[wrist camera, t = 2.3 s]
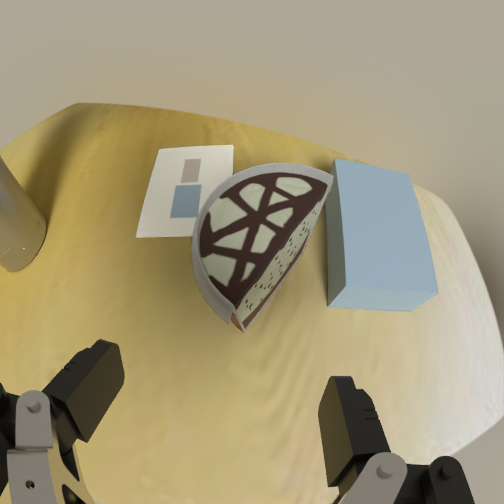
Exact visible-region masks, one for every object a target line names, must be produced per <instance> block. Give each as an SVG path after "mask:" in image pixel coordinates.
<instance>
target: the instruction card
mask: <svg viewBox="0 0 504 504" xmlns="http://www.w3.org/2000/svg"><path fill="white" fill-rule="evenodd" d="M233 151H234V145H213V146H192V147H177V148H165V149H159V152H158V155H157V159H156V162H155V165H154V168H153V172H152V175H151V178H150V182H149V185H148V189H147V193H146V196H145V200H144V204H143V208H142V212H141V216H140V220H139V224H138V229H137V233H136V238H148V237H192V235H193V230H194V226H195V221H196V219H197V217H198V214H199V212H200V210H201V208H202V206H203V204H204V203H205V201H206V200H207V198H208V197H209V195H210V194H211V193H212V192H213V191H214V190H215V189H216V188H217V186H218V185H220V184H221V183H222V182H224V181H225V180H226V179H227V178H229V177H231V176H232V175H233Z"/></svg>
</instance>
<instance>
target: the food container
mask: <svg viewBox="0 0 504 504" xmlns="http://www.w3.org/2000/svg"><path fill="white" fill-rule="evenodd" d="M333 178H334V176H333V175H331V174H329V173H326V172H324V171H322V170H319V169H316V168H313V167H309V166H305V165H300V164H293V163H270V164H262V165H258V166H254V167H250V168H248V169H245V170H243V171H240V172H238V173H236V174H234V175H232V176H231V177H229V178H227V179H226V180H225V181H224V182H222V183H221V184H220V185H218V186H217V188H216V189H215V190H214V191H213V192H212V193H211V194H210V195H209V197H208V198H207V200H206V201H205V203H204V204H203V206H202V208H201V210H200V212H199V214H198V217H197V219H196V221H195V226H194V230H193V235H192V248H191V262H192V268H193V274H194V277H195V280H196V282H197V285H198V288H199V290H200V292H201V293H202V295H203V297H204V299H205V300H206V302H207V303H208V304H209V306H210V307H211V308H212V309H213V310H214V312H215V313H216V314H217V315H218V316H219V317H220V318H222V319H223V320H224V321H225V322H226V323H227V324H229V323H230V320H231V321H232V322H233V323H234V324H235V326H236V327H237V328H239V329H240V330H241V331H242V332H244V333H245V331H246V330H247V329H248V328H249V326H250V325H251V324H252V322H253V321H254V320H255V318H256V317H257V316H258V314H259V313H260V312H261V311H262V309H263V308H264V307H265V305H266V304H267V303H268V301H269V300H270V299H271V297H272V296H273V295H274V293H275V292H276V291H277V289H278V288H279V286H280V285H281V284H282V282H283V281H284V280H285V278H286V277H287V276H288V274H289V273H290V271H291V270H292V269H293V267H294V266H295V264H296V263H297V262H298V260H299V259H300V257H301V256H302V254H303V252H304V250H305V247H306V245H307V243H308V240H309V238H310V236H311V233H312V231H313V228H314V226H315V224H316V221H317V219H318V216H319V214H320V211H321V209H322V206H323V204H324V201H325V199H326V196H327V194H328V192H330V191H331V187H332V184H333Z"/></svg>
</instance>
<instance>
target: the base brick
mask: <svg viewBox="0 0 504 504" xmlns="http://www.w3.org/2000/svg"><path fill="white" fill-rule="evenodd" d="M330 174H331V175H333V176H334V178H333V184H332V187H331V191H330V192H328V194H327V196H326V199H325V211H326V231H327V263H328V307H336V308H350V309H366V310H385V311H409V312H410V311H412V310H413V309H415V308H416V307H418V306H420V305H421V304H423V303H424V302H426V301H427V300H429V299H430V298H432V297H433V296H435V295H436V294H438V288H437V282H436V276H435V270H434V265H433V260H432V255H431V251H430V246H429V242H428V238H427V234H426V230H425V226H424V222H423V219H422V215H421V211H420V208H419V205H418V201H417V198H416V195H415V192H414V189H413V186H412V183H411V180H410V177H409V175H408V174H405V173H401V172H397V171H393V170H389V169H384V168H380V167H376V166H371V165H367V164H362V163H357V162H352V161H347V160H341V159H336V158H335V159H334V162H333V165H332V168H331V171H330Z"/></svg>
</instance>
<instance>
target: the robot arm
mask: <svg viewBox="0 0 504 504" xmlns="http://www.w3.org/2000/svg"><path fill="white" fill-rule="evenodd" d="M46 225H47V224H46V219H45V217H44V215H43V214H42V213H41V212H40V210H39V209H38V208H37V207H36V205H35V204H34V203H33V202H32V200H31V199H30V198H29V196H28V195H27V194H26V192H25V191H24V190H23V188H22V187H21V186H20V184H19V183H18V181H17V180H16V179H15V177H14V176H13V174H12V173H11V171H10V170H9V168H8V167H7V165H6V164H5V162H4V161H3V159H2V158H1V156H0V265H1V266H3V267H4V268H5V269H6V270H8V271H11V272H16V271H19V270H21V269H22V268H24V267H25V266H27V265H28V264H29V263H30V262H31V261H32V259H33V258H34V257H35V255H36V254H37V252H38V251H39V249H40V247H41V245H42V243H43V240H44V238H45V233H46ZM124 376H125V375H124V369H123V364H122V360H121V355H120V350H119V346H118V345H117V344H115V343H112V342H108V341H105V340H102V339H99V340H98V341H96V343H95V344H94V345H93V346H92V347H91V348H86V349H84V350H82V351H80V352H78V353H77V354H76V355H75V356H74V357H73V358H72V359H71V360H70V362H68V363H67V364H66V365H65V366H64V369H62V370H61V371H60V372H59V373H58V374H57V375H56V376H55V377H54V378H53V379H52V380H51V382H50V383H49V384H48V385H47V386H46V387H45V388H44V389H43V390H42V391H41V392H40V391H36V390H32V391H27V392H25V393H23V394H22V395H21V396H18V395H14V394H10V393H7V392H6V391H5V390H4V388H3V386H2V384H1V383H0V496H1V494H2V492H3V490H4V488H5V487H6V485H7V483H8V481H9V488H10V495H11V501H12V504H95V503H94V501H93V499H92V497H91V495H90V493H89V492H88V490H87V488H86V486H85V483H84V480H83V476H82V472H81V469H80V464H79V460H78V456H77V451H76V447H75V444H74V442H75V441H76V439H77V438H78V439H80V440H82V441H84V442H86V443H88V441H89V439H90V438H91V436H92V434H93V433H94V431H95V429H96V428H97V426H98V424H99V423H100V421H101V419H102V418H103V416H104V415H105V413H106V411H107V410H108V408H109V407H110V405H111V403H112V402H113V400H114V399H115V397H116V395H117V394H118V392H119V391H120V389H121V388H122V386H123V383H124ZM318 418H319V425H320V432H321V438H322V445H323V452H324V460H325V467H326V475H327V483H328V487H336V486H338V488H339V494H338V495H337V496H336V498H335V499H334V500H333V502H332V503H331V504H475V503H474V500H473V497H472V494H471V491H470V488H469V485H468V482H467V480H466V477H465V474H464V472H463V469H462V466H461V465H460V463H459V462H458V461H457V460H456V459H455V458H453V457H450V456H441V457H438V458H437V459H435V460H434V461H433V462H432V463H431V464H430V465H414V464H406V463H405V461H404V460H403V459H402V458H401V457H400V456H398V455H396V454H394V453H391V451H390V449H389V446H388V443H387V440H386V437H385V434H384V431H383V428H382V426H381V423H380V420H379V419H378V415H377V412H376V411H375V407H374V404H373V401H372V399H371V397H370V396H369V395H368V394H367V393H366V392H365V391H364V390H363V389H356V387H355V384H354V381H353V379H352V377H351V376H331V377H330V378H329V380H328V383H327V386H326V389H325V391H324V394H323V397H322V399H321V402H320V405H319V411H318Z"/></svg>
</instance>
